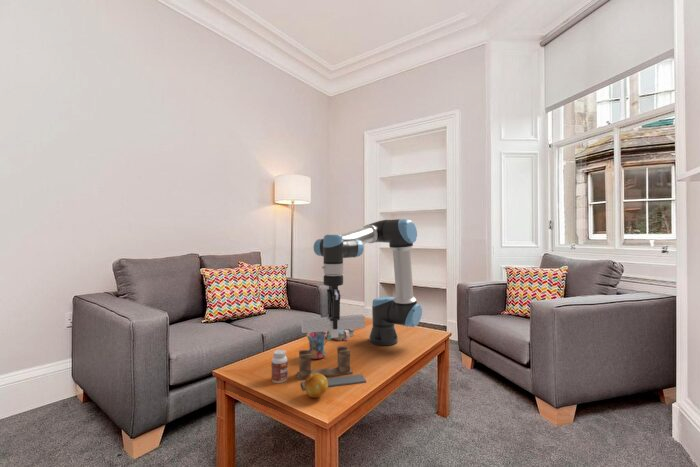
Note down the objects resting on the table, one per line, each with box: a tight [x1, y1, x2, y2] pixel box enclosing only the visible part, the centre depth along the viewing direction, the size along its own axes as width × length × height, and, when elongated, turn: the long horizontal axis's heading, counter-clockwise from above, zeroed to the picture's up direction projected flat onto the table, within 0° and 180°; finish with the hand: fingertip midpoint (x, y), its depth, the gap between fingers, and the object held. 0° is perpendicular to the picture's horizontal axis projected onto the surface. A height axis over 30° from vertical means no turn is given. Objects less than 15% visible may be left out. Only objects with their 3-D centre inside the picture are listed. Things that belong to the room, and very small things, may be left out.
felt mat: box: [301, 374, 367, 391], centre depth 127 cm, size 24×6×1 cm, turn 105°
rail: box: [301, 314, 366, 334], centre depth 127 cm, size 24×3×4 cm, turn 105°
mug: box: [306, 331, 329, 360], centre depth 155 cm, size 12×9×11 cm
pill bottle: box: [271, 349, 289, 384], centre depth 129 cm, size 6×6×11 cm
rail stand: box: [296, 345, 354, 381], centre depth 135 cm, size 22×6×9 cm, turn 105°
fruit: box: [304, 373, 329, 399], centre depth 116 cm, size 8×8×8 cm
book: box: [326, 329, 356, 342], centre depth 181 cm, size 20×12×5 cm, turn 144°
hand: (333, 335), depth 127 cm, fingers closed on rail, 3 cm apart
